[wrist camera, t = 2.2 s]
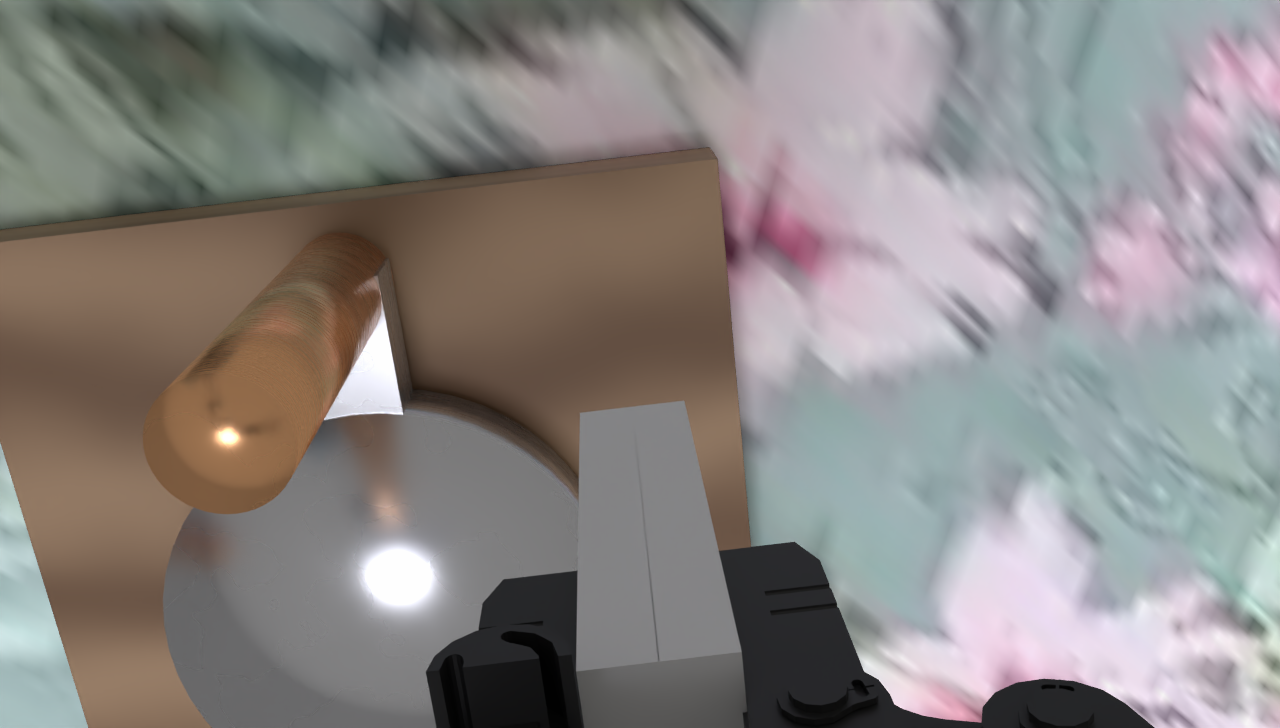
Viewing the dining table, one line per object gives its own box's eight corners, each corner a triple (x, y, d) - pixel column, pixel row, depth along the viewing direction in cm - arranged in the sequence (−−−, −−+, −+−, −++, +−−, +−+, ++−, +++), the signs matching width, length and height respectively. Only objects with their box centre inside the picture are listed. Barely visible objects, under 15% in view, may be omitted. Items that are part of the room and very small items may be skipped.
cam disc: (635, 737, 36) (657, 1057, 25) (238, 785, 35) (95, 1127, 25) (566, 206, 30) (558, 332, 20) (99, 260, 30) (-155, 415, 20)
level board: (-22, 232, 32) (-112, 272, 28) (709, 147, 32) (728, 174, 28) (170, 879, 39) (121, 987, 35) (767, 806, 39) (789, 905, 35)
